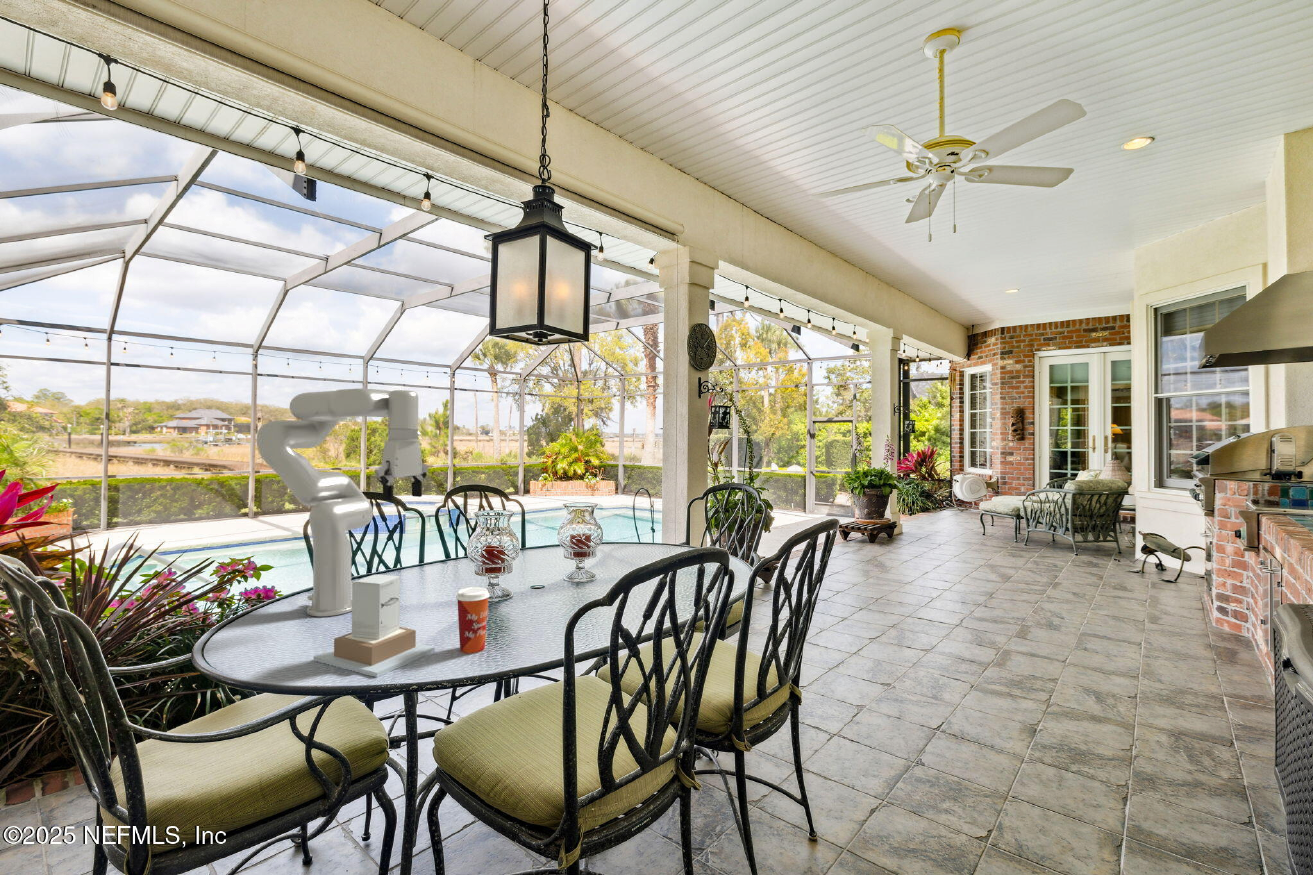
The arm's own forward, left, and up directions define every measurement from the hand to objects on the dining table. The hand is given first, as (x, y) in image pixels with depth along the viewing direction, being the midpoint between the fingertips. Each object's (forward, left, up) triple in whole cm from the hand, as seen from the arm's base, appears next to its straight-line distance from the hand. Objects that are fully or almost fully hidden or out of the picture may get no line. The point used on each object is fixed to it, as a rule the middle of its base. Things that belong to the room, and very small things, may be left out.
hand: (402, 498), depth 158 cm
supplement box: (+15, -21, -28) cm, 38 cm away
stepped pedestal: (+15, -21, -33) cm, 42 cm away
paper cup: (+32, -8, -34) cm, 47 cm away
